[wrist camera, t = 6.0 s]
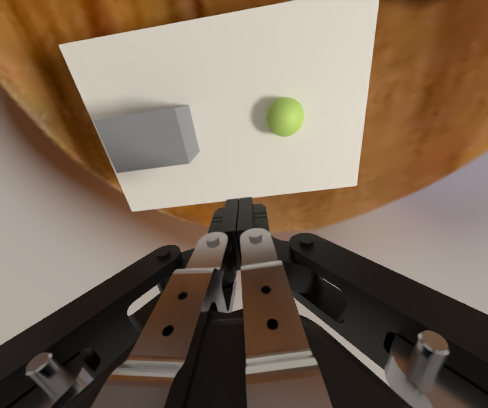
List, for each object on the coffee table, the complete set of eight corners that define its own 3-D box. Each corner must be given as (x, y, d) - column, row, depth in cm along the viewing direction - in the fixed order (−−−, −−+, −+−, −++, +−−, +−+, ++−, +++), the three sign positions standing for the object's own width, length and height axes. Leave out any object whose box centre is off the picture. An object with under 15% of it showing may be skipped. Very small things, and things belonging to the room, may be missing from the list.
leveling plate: (81, 51, 18) (5, 30, 13) (362, -1, 17) (424, -52, 11) (142, 200, 25) (110, 232, 19) (346, 176, 23) (378, 204, 18)
